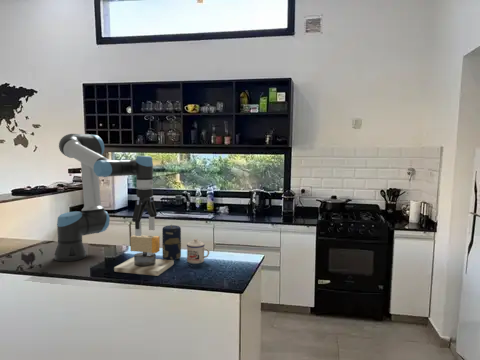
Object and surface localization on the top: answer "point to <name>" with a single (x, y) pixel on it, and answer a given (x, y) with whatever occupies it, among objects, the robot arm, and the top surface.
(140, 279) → the top surface
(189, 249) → the teacup with lid
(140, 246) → the yellow block on stand
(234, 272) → the top surface
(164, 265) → the base plate
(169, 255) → the canister
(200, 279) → the top surface
